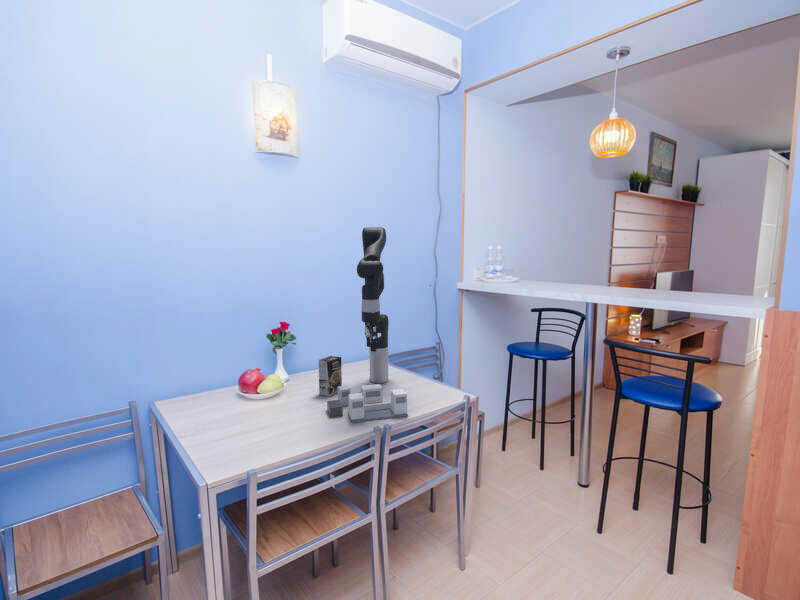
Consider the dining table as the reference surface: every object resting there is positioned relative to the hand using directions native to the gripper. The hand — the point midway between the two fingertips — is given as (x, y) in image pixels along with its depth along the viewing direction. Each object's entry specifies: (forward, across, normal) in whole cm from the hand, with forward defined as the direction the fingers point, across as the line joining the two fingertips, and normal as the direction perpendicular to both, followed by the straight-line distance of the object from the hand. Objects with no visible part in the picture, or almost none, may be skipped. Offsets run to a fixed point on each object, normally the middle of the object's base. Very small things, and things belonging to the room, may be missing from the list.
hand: (371, 348), depth 171 cm
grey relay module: (+24, -5, -11) cm, 27 cm away
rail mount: (+24, +11, 0) cm, 26 cm away
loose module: (+24, 0, 0) cm, 24 cm away
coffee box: (+24, -20, -15) cm, 35 cm away
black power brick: (+24, +4, -16) cm, 29 cm away
